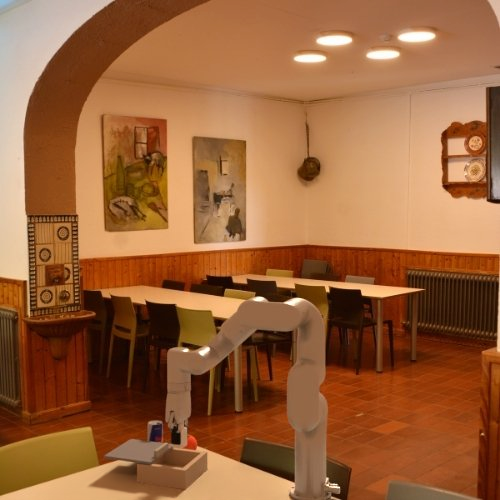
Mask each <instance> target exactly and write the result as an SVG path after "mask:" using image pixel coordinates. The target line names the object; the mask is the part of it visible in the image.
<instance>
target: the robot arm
mask: <svg viewBox="0 0 500 500" xmlns="http://www.w3.org/2000/svg"><path fill="white" fill-rule="evenodd" d="M296 329H297V338H296V361H295V363H294V365H292V366H291V368H290V369H289V370H288V373H287V374H288V375H287V380H286V381H287V382H286V383H287V384H286V417H287V420H288V423H289V424H290V426H291V428H292V429H294V484H293V485H291V487H290V488H289V495H290V496H291V497H292V498H293V499H295V500H329V498H331V496H332V493H333V494H336V495H337V494H338V495H339V494H340V493H341V487H340V486H339V484H338V483H331V482H330V481H329V480H330V478H329V477H327V431H328V430H327V427H328V415H329V410H328V409H329V407H328V406H329V405H328V401H327V399H326V398H325V396H324V394H322V393H321V392H320V387H321V385H322V384H323V382H324V380H325V378H326V372H327V371H326V330H325V321H324V319H323V315H322V314H321V312H320V310H319V308H317V306H316V305H315V304H313V303H312V302H311V301H309V300H307V299H306V298H305V299H304V298H300V297H293V298H290V299H287V300H286V301H284V302H280V301H279V302H278V301H276V302H275V301H269V300H268V299H267V298H265V297H263V296H253V297H251V298H249V299H245V300H244V301H243V302H241V303H240V304H239V306H238V307H237V310H236V311H235V312H234V313H233V314H232V315H230V316H229V318H227V319H226V320H225V321H224V322H223V323H222V324H221V327H220V330H219V331H218V332H217V334H216V335H215V336H214V337H212V338H211V339H210V341H208V342H207V343H205V345H203V346H202V347H199V348H198V349H197V348H196V349H195V350H190V349H189V348H188V347H183V346H182V347H181V346H180V347H179V346H177V347H172V348H169V349H168V350H167V355H166V360H167V361H166V364H167V367H166V368H167V370H166V371H167V373H166V374H167V376H166V377H167V378H166V379H167V393H166V394H167V395H166V400H165V401H166V402H165V403H166V404H165V423H167V428H168V429H169V430H170V431H169V432H170V444H175V445H180V444H181V432H180V423H181V422H183V421H184V427H186V428H187V439H188V435H189V434H188V433H189V432H188V430H189V429H188V427H189V420H190V419H189V418H190V417H191V413H192V397H191V390H192V385H191V384H192V383H191V382H192V381H191V376H192V375H194V376H198V375H203V374H205V373H206V372H208V371H210V370H211V369H213V368H215V367H216V366H217V365H218V364H220V363H221V362H222V361H223V360H224V359H225V358H226V357H227V356H229V355H230V354H231V353H232V352H233V351H234V350H235V349H236V348H238V347H240V345H241V344H243V342H245V341H246V340H247V339H248V338H250V337H251V336H252V335H253V334H254V332H257V330H260V331H273V332H274V331H275V332H291V331H294V330H296ZM174 421H177V422H174ZM175 425H177V427H176V426H175Z"/></svg>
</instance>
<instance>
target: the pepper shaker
mask: <svg viewBox="0 0 500 500" xmlns="http://www.w3.org/2000/svg"><path fill="white" fill-rule="evenodd" d="M174 422H177V421H174ZM174 426H176V427H177V425H174ZM187 428H188V427H187ZM187 428H186V427H184V421H183V422H181V423H180V432H181V444H180V445H175V444H172V447H174V448H179V449H182V448H183V447H185V446H187Z"/></svg>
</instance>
